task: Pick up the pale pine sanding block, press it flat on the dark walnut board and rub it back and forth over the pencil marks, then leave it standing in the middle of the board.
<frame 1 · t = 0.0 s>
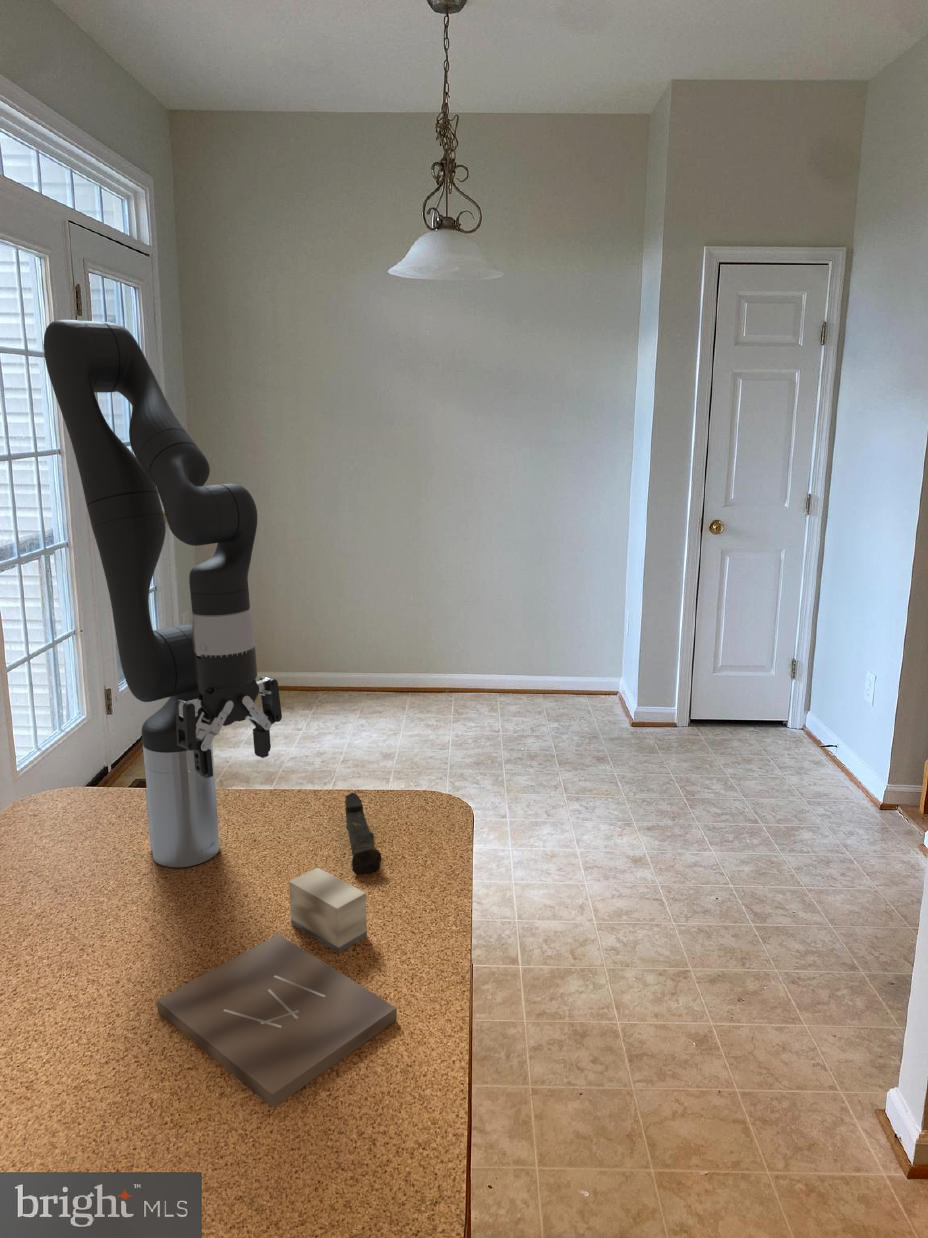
hand: (234, 766, 116), 17 cm above the kitchen counter, tool pointing down, fingers open, 8 cm apart
walnut board: (276, 1016, 95), on the kitchen counter
hand tool: (355, 845, 132), on the kitchen counter
sanding block: (328, 930, 110), on the kitchen counter
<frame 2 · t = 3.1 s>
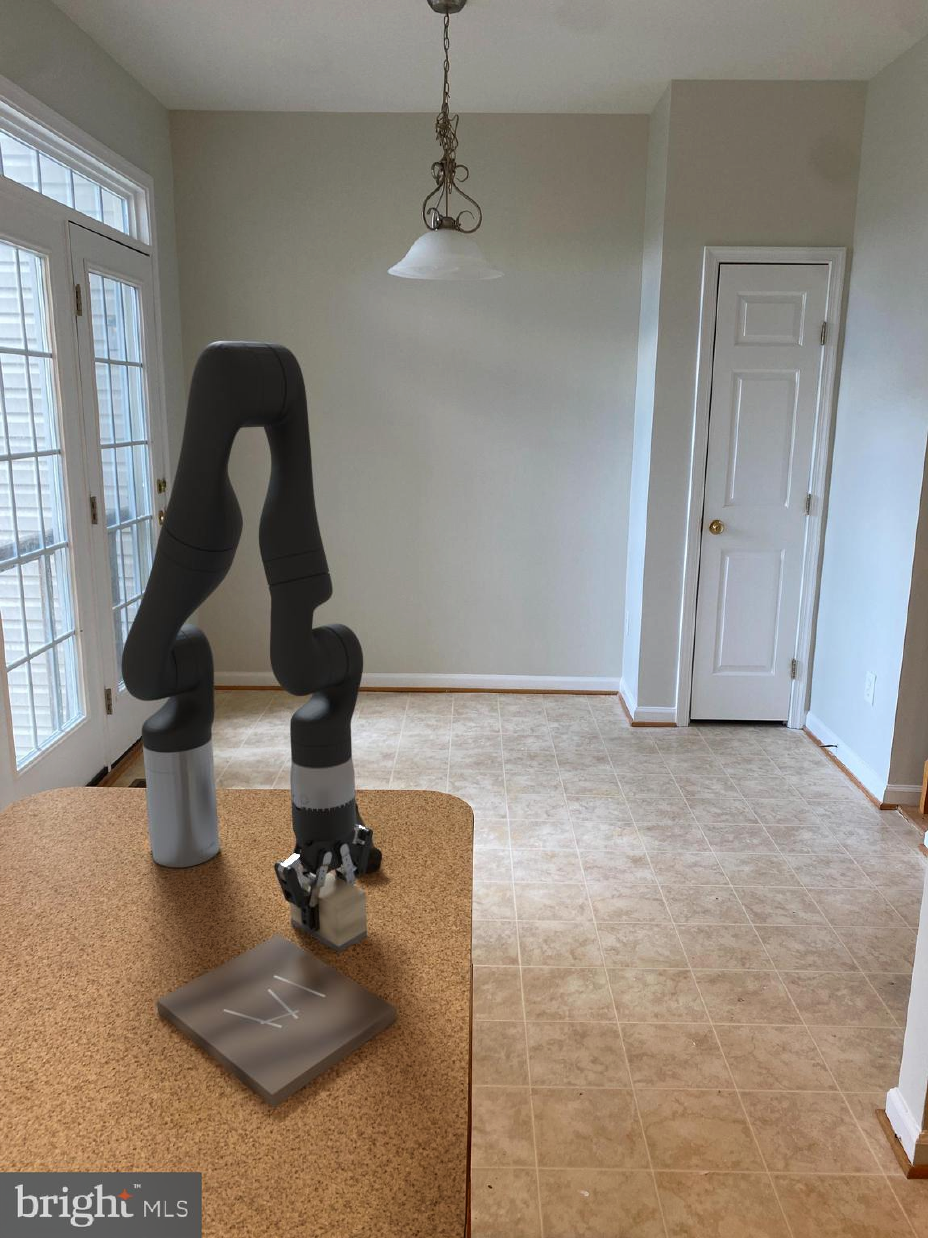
hand: (328, 919, 110), 1 cm above the kitchen counter, tool pointing down, fingers closed on sanding block, 4 cm apart
sanding block: (328, 929, 111), on the kitchen counter, touching gripper
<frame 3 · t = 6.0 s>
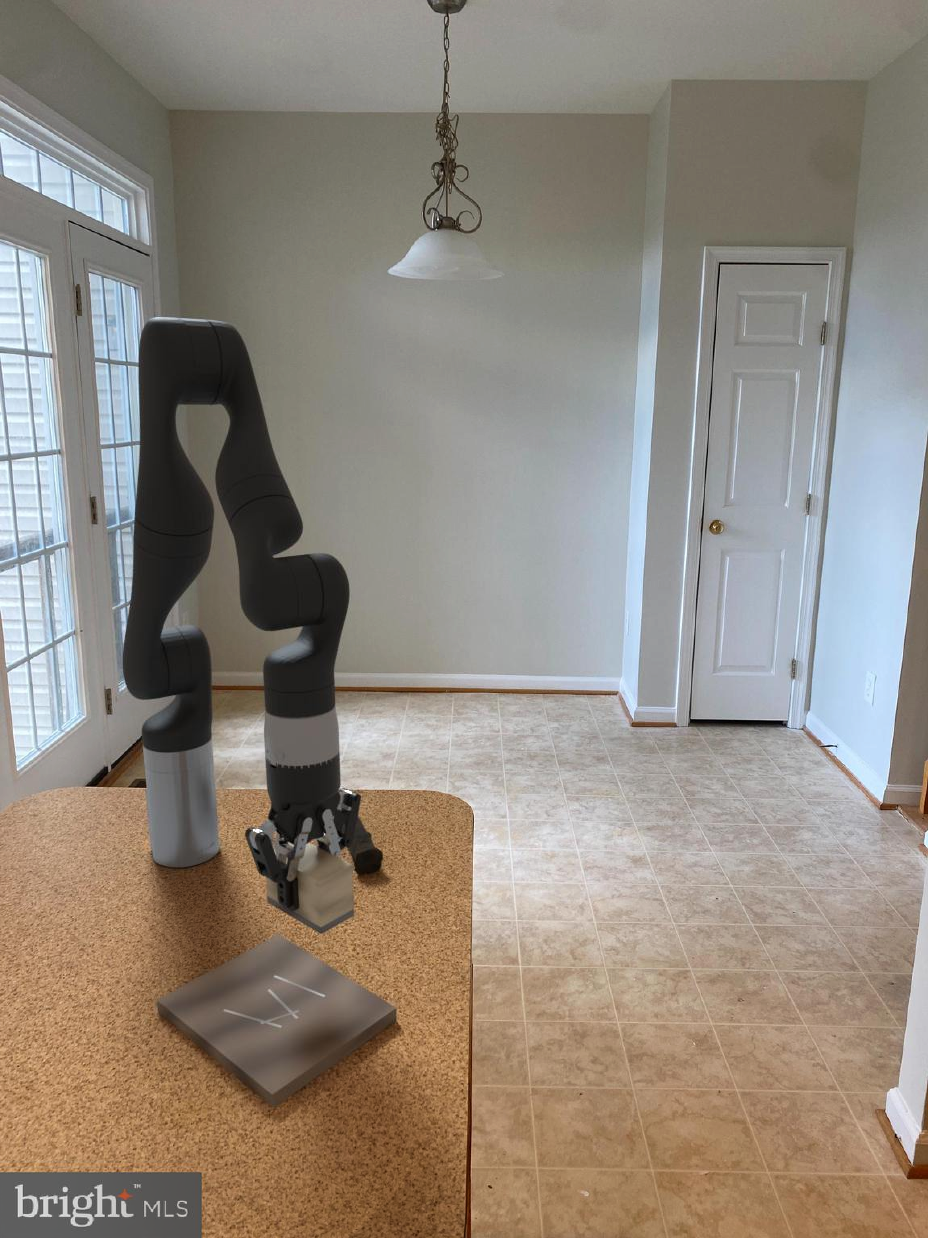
hand: (309, 897, 96), 12 cm above the kitchen counter, tool pointing down, fingers closed on sanding block, 4 cm apart
sanding block: (310, 909, 96), point 10 cm above the kitchen counter, touching gripper
everything else where it was.
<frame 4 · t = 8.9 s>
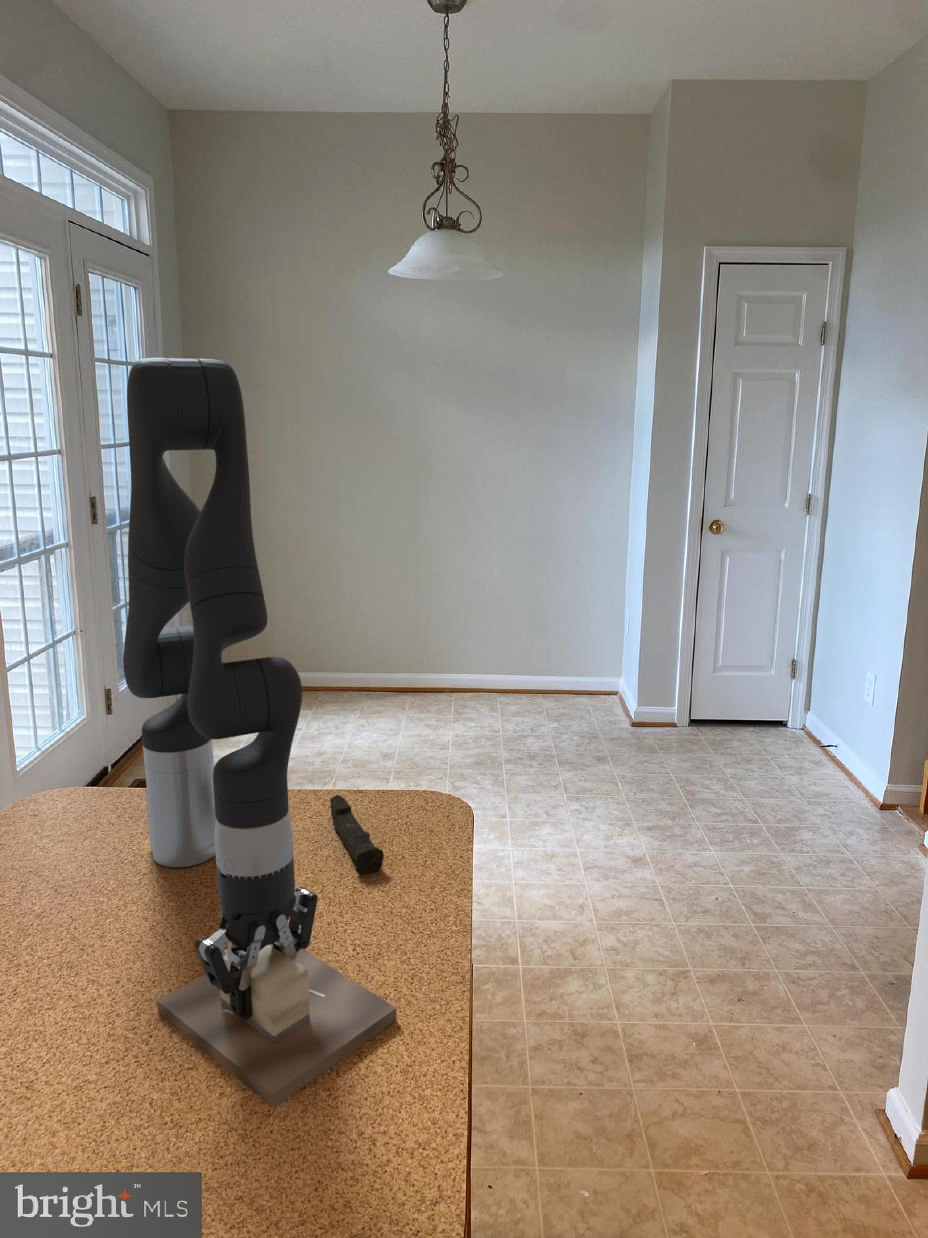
hand: (263, 1002, 93), 3 cm above the kitchen counter, tool pointing down, fingers closed on sanding block, 4 cm apart
sanding block: (264, 1012, 93), point 2 cm above the kitchen counter, touching gripper
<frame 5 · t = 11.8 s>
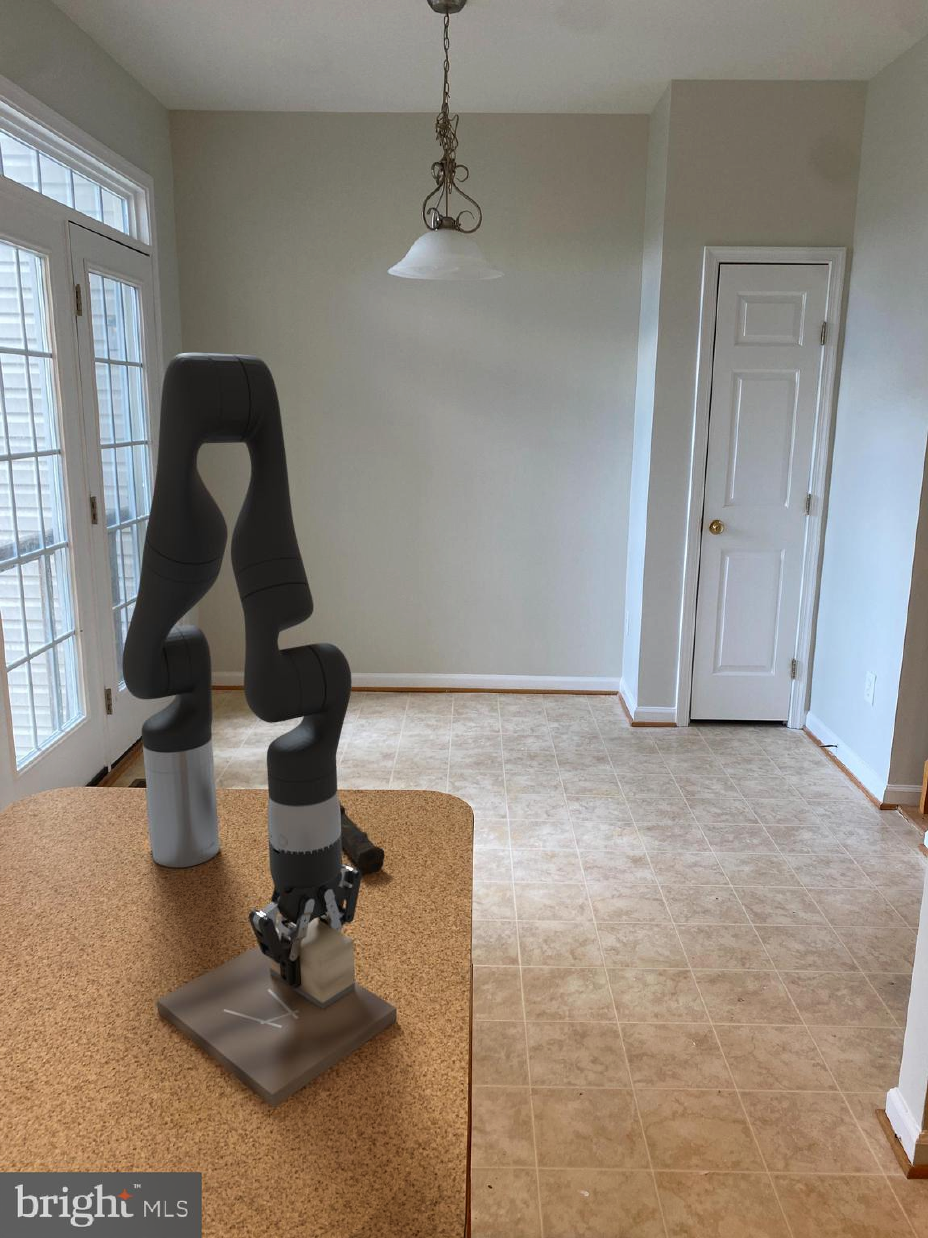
hand: (311, 972, 98), 3 cm above the kitchen counter, tool pointing down, fingers closed on sanding block, 4 cm apart
sanding block: (312, 981, 98), point 2 cm above the kitchen counter, touching gripper
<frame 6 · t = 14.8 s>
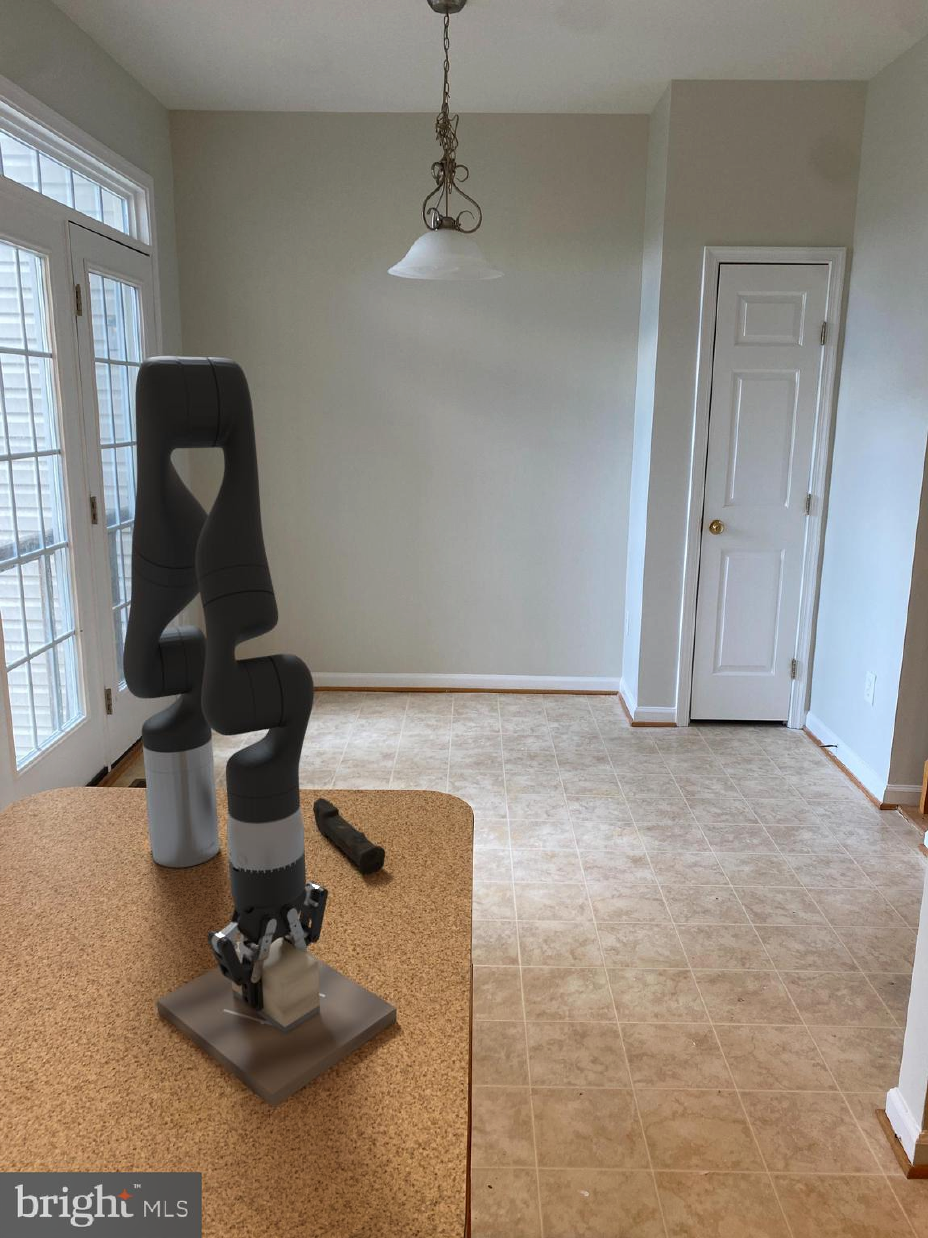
hand: (274, 994, 95), 3 cm above the kitchen counter, tool pointing down, fingers closed on sanding block, 4 cm apart
sanding block: (275, 1003, 95), point 2 cm above the kitchen counter, touching gripper
when the fingers open (3 cm above the kitchen counter, at t = 14.9 s): sanding block stays where it is, resting on walnut board.
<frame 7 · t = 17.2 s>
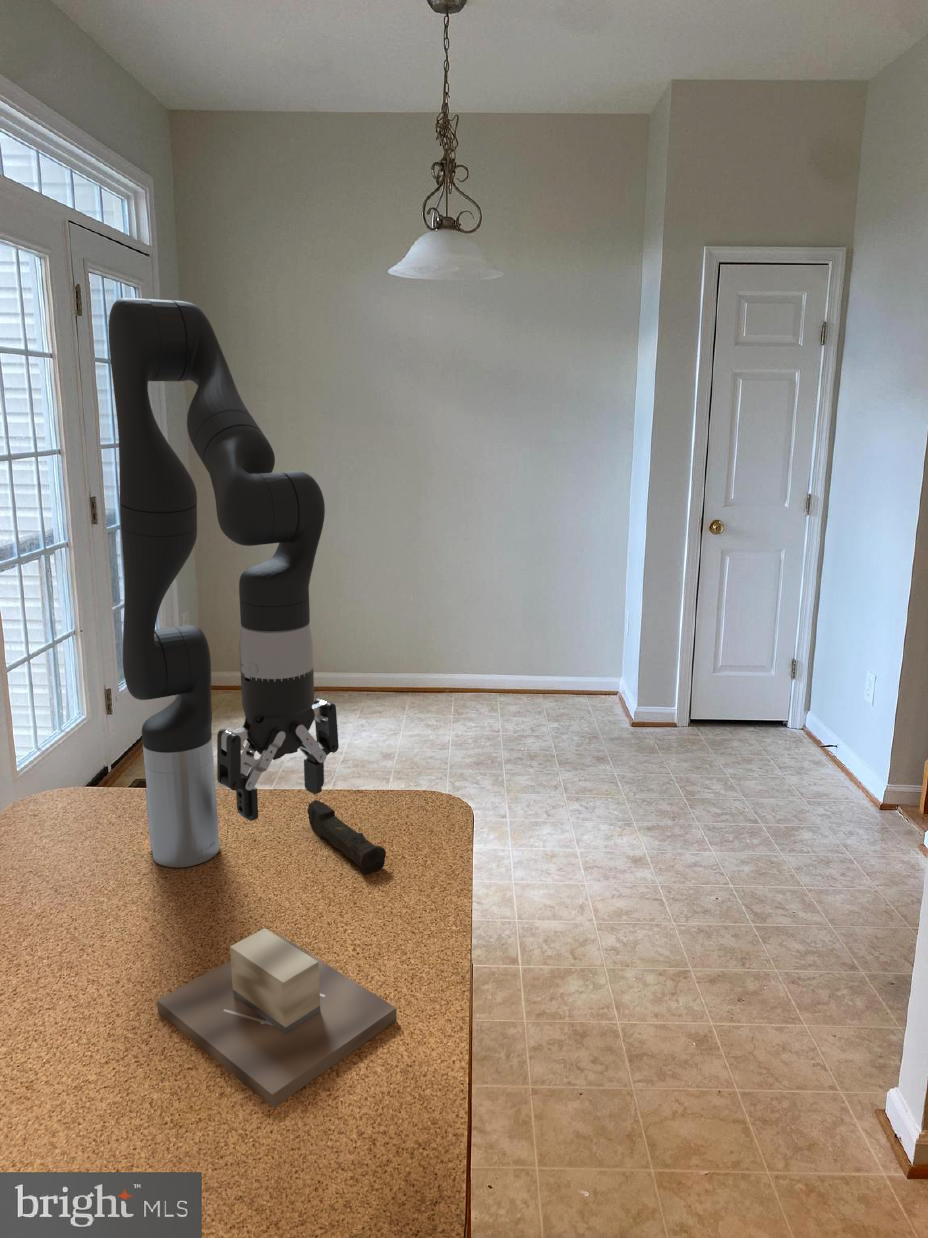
hand: (282, 804, 98), 20 cm above the kitchen counter, tool pointing down, fingers open, 8 cm apart
sanding block: (276, 1004, 95), point 2 cm above the kitchen counter, touching walnut board
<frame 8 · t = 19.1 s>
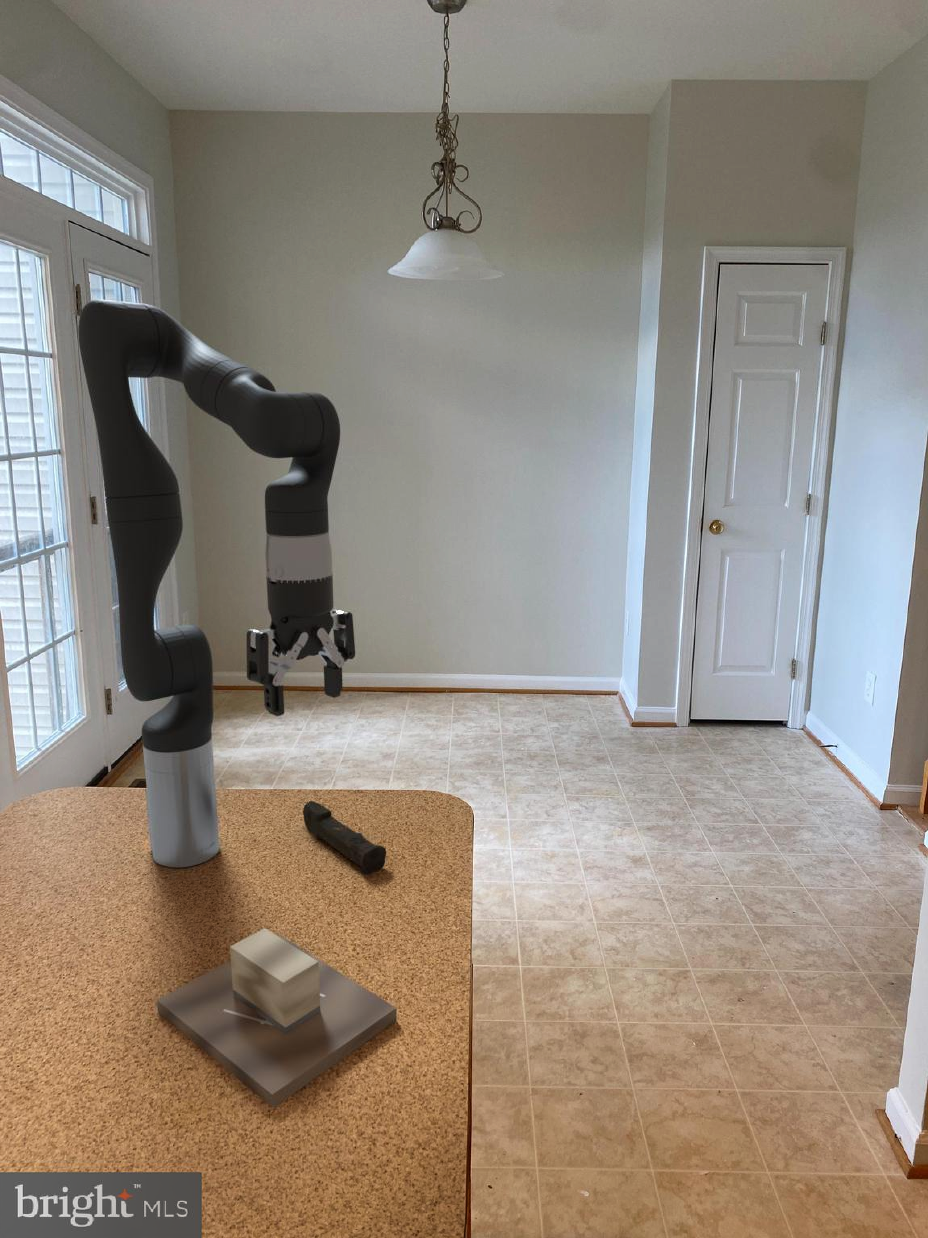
hand: (305, 704, 107), 28 cm above the kitchen counter, tool pointing down, fingers open, 8 cm apart
at the end: sanding block inside the target area on the walnut board (0.0 cm from its centre), point 1.5 cm above the walnut board's base; sanding block tilted 0°; the gripper is holding nothing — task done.
